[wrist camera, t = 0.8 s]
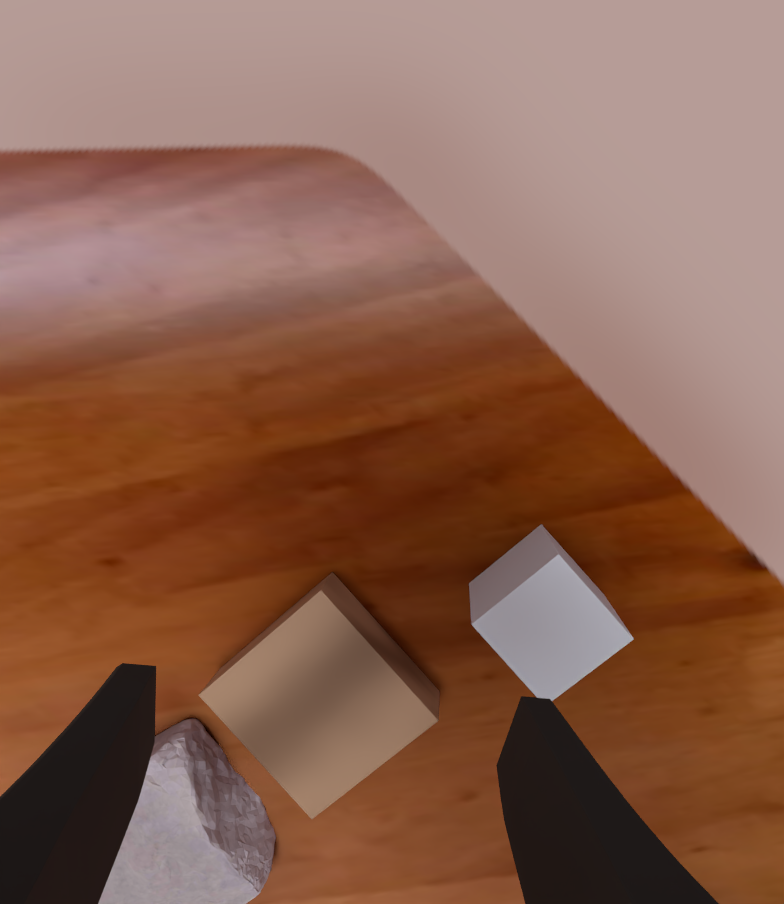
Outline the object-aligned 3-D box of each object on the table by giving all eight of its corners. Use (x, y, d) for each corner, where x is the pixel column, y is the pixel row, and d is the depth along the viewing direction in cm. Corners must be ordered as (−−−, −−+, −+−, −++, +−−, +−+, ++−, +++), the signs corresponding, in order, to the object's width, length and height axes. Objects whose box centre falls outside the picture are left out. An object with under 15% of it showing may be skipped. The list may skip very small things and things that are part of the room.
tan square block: (440, 687, 31) (438, 720, 28) (324, 778, 32) (311, 819, 29) (333, 569, 31) (321, 590, 28) (222, 665, 32) (198, 695, 29)
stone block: (304, 819, 34) (191, 694, 32) (288, 907, 30) (155, 769, 27) (142, 900, 36) (26, 789, 34) (105, 993, 32) (-33, 872, 29)
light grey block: (603, 594, 29) (633, 639, 24) (530, 651, 30) (544, 706, 25) (541, 523, 29) (558, 554, 24) (468, 582, 30) (471, 624, 25)
